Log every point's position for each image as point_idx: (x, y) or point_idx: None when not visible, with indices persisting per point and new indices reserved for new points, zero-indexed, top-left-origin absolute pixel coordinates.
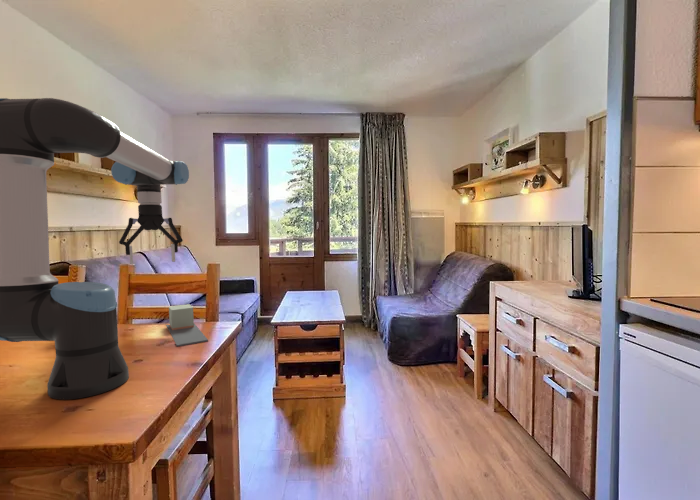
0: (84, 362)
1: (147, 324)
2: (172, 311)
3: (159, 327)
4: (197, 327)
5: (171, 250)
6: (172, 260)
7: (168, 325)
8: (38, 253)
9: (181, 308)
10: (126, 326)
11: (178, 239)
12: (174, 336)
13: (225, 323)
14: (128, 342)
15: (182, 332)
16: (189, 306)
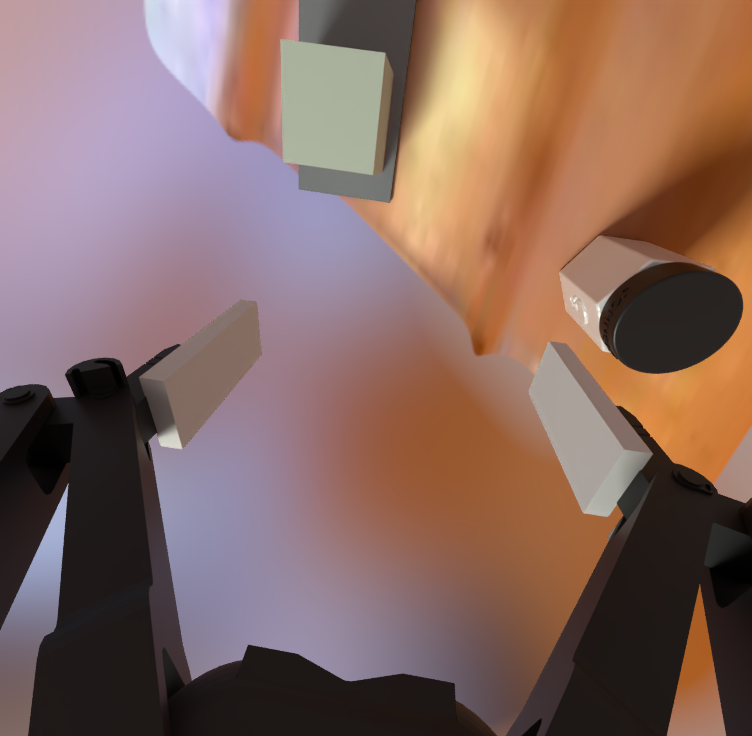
0: None
1: (431, 276)
2: (380, 54)
3: (413, 196)
4: (299, 36)
5: (218, 398)
6: (255, 329)
7: (385, 178)
8: None
9: (334, 63)
10: (489, 298)
11: (34, 410)
12: None
13: (187, 51)
14: (578, 12)
15: None
16: (292, 92)
